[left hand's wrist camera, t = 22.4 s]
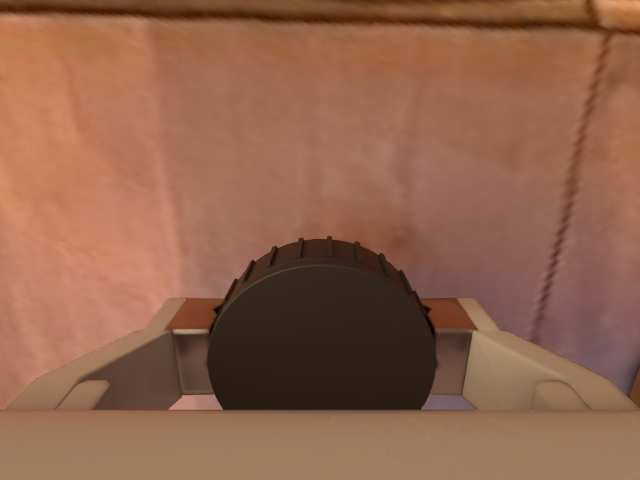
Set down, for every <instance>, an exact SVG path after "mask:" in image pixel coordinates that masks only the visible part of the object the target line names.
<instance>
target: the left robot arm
mask: <svg viewBox="0 0 640 480" xmlns="http://www.w3.org/2000/svg"><path fill="white" fill-rule="evenodd" d="M223 300H224V299H218V298H168V299H167V300H166V302H165V303H164V304H163V305H162V307H161V308H160V309H159V311H158V312H157V313H156V314H155V316H154V317H153V318H152V320H151V321H150V322H149V323H148V325H147V326H146V327H145V329H144V330H143V331H135V332H133V333H131V334H129V335H127V336H125V337H123V338H120V339H118V340H116V341H114V342H112V343H110V344H108V345H106V346H104V347H102V348H100V349H97V350H95V351H93V352H91V353H89V354H87V355H85V356H83V357H81V358H79V359H77V360H74V361H72V362H70V363H68V364H66V365H64V366H62V367H60V368H58V369H56V370H53V371H51V372H49V373H47V374H45V375H43V376H41V377H39V378H37V379H35V380H34V381H33V382H32V383H31V384H30V385H29V386H28V387H27V388H26V389H25V390H24V391H23V392H22V393H21V394H20V395H19V396H18V397H17V398H16V399H15V400H14V401H13V402H12V403H11V404H10V405H9V406H8V407H7V408H6V409H5V410H0V480H640V408H639V407H638V406H637V405H636V404H635V403H634V402H633V401H632V400H631V399H630V398H629V397H628V396H626V395H625V394H624V393H623V392H622V391H621V390H620V389H619V388H618V387H617V386H616V385H615V384H614V383H613V382H612V381H611V380H610V379H608V378H606V377H604V376H602V375H600V374H597V373H595V372H593V371H591V370H589V369H587V368H585V367H583V366H581V365H578V364H576V363H574V362H572V361H570V360H568V359H566V358H564V357H562V356H560V355H557V354H555V353H553V352H551V351H549V350H547V349H545V348H543V347H541V346H538V345H536V344H534V343H532V342H530V341H528V340H526V339H524V338H522V337H519V336H517V335H515V334H513V333H511V332H509V331H501V330H500V329H499V327H498V326H497V325H496V324H495V322H494V321H493V320H492V319H491V317H490V316H489V315H488V314H487V312H486V311H485V310H484V309H483V307H482V306H481V305H480V304H479V302H478V301H477V300H476V299H475V298H432V299H420V301H421V303H422V305H423V306H424V308H425V310H426V312H427V314H428V317H426V318H425V319H426V321H427V323H428V325H429V327H430V330H431V333H432V335H433V338H434V343H435V348H436V363H437V364H436V372H435V378H434V382H433V386H432V389H431V391H430V394H435V395H462V397H463V398H464V399H465V400H466V401H467V402H468V403H470V404H471V405H472V406H473V407H474V408H475V409H477V410H168V409H169V408H170V407H171V406H172V405H173V404H174V403H176V402H177V401H178V400H179V399H180V398H181V397H182V395H207V394H214V391H213V389H212V386H211V382H210V379H209V375H208V366H207V352H208V345H209V340H210V336H211V333H212V331H213V322H214V320H215V318H216V316H217V314H218V312H219V310H220V308H221V306H222V304H223V303H222V302H223Z"/></svg>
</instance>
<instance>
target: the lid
mask: <svg viewBox="0 0 640 480" xmlns="http://www.w3.org/2000/svg"><path fill="white" fill-rule="evenodd" d="M222 303H223V304H222V306H221V308H220V310H219V312H218V314H217V316H216V318H215V320H214V322H213V331H212V333H211V336H210V340H209V345H208V352H207V366H208V375H209V379H210V382H211V386H212V389H213V391H214V394H215V396H216V398H217V400H218V402H219V403H220V405H221V407H222V408H223V410H421V408H422V407H423V405H424V404H425V402H426V400H427V398H428V396H429V394H430V391H431V389H432V386H433V382H434V378H435V372H436V364H437V363H436V348H435V343H434V338H433V335H432V333H431V330H430V327H429V325H428V323H427V321H426V319H425V318H426V317H428V314H427V312H426V310H425V308H424V306H423V305H422V303H421V301H420V299H419V297H418V295H417V293H416V291H413V290H412V288H411V286H410V284H409V282H408V280H407V278H406V276H405V274H404V272H403V271H402V270H400V271H399V272H398V271H397V270H396V269H395V268H394V267H393V266H392V265H391V264H390V263H389V262H388V261H387V260H386V258H385V256H384V254H382V253H380V254H379V255H378V254H376V253H374V252H372V251H371V250H369V249H366V248H364V247H361V246H360V243H359V242H357V241H355V244H352V243H349V242H345V241H339V240H332V236H327V239H313V240H304V239H303V238H299V240H298V242H295V243H291V244H287V245H285V246H282V247H280V248H277V246H274V247H272V250H271V252H269V253H267V254H266V255H264V256H263V257H261V258H260V259H258V260H257V261H256V262H255V261H254V260H252V261H251V262H250V263H249V265H248V267H247V269H246V271H245V272H244V273H243V275H242V276H241V277H240V279H239V280H237V279H235V280H234V281H233V283H232V285H231V287H230V289H229V291H228V293H227V295H226V296H225V298H224V300H223V302H222Z"/></svg>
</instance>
